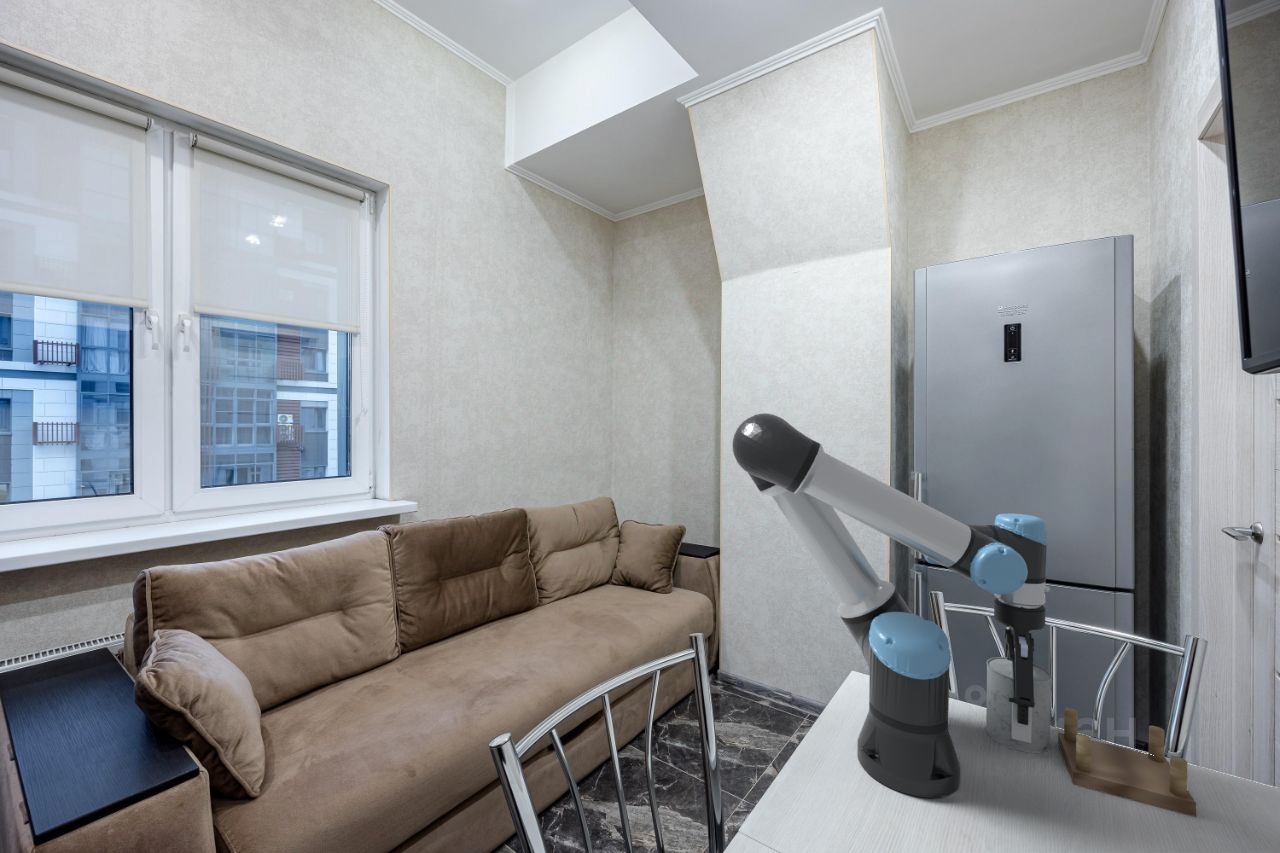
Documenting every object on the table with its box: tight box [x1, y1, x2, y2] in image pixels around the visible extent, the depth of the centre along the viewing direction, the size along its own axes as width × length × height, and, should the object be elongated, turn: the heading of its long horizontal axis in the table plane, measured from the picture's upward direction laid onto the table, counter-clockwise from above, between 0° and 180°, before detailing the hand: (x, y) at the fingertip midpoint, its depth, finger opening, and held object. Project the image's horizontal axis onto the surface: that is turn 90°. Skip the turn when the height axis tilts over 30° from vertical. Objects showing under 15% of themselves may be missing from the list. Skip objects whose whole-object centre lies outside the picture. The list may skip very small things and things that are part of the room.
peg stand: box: [1057, 707, 1197, 818], centre depth 86 cm, size 14×12×7 cm
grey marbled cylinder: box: [985, 656, 1053, 754], centre depth 96 cm, size 10×10×12 cm
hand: (1017, 724), depth 96 cm, fingers open, 10 cm apart
